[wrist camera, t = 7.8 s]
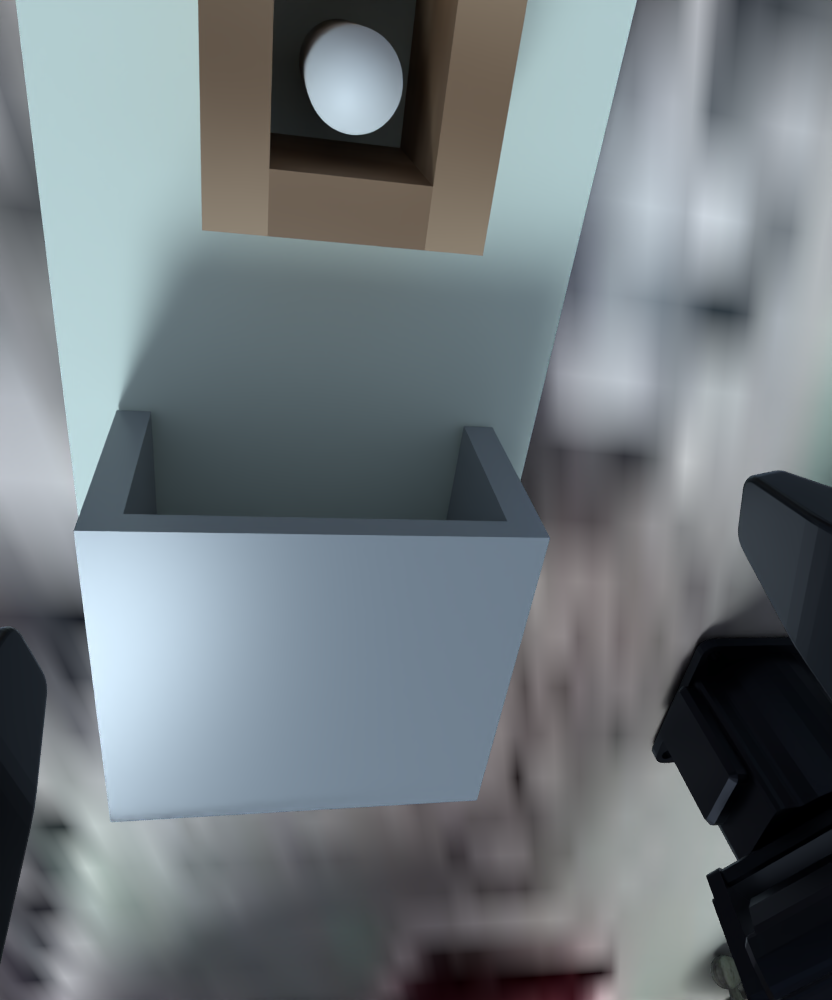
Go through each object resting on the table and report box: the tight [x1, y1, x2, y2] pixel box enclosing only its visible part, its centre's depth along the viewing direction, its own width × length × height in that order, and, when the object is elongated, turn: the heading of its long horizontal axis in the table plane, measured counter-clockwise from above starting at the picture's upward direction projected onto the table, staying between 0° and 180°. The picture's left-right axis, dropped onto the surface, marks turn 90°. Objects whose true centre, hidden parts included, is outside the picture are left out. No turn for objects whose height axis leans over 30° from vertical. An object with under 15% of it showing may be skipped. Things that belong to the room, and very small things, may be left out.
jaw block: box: [198, 0, 528, 256], centre depth 14 cm, size 5×5×4 cm
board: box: [16, 0, 637, 520], centre depth 18 cm, size 12×22×4 cm, turn 172°
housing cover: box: [74, 410, 550, 822], centre depth 20 cm, size 10×9×5 cm
